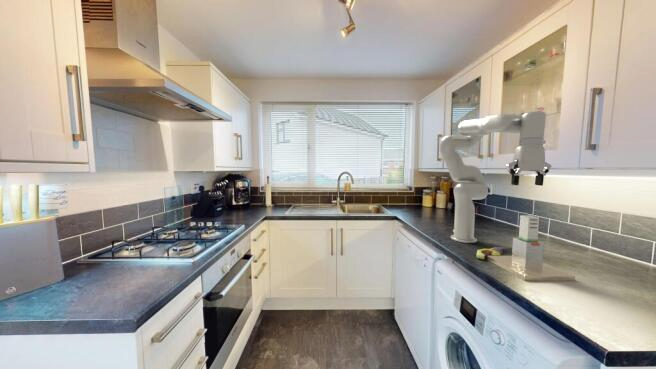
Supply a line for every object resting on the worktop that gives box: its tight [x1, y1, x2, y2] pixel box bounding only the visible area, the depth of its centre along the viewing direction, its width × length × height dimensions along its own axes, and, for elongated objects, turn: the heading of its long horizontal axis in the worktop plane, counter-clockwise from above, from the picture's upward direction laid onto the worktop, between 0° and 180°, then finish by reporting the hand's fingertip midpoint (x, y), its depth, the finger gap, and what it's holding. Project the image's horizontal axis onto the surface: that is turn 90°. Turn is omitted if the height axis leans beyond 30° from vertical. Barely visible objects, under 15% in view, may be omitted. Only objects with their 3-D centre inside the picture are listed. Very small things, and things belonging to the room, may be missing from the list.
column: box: [518, 214, 540, 242], centre depth 93 cm, size 4×4×15 cm
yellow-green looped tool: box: [475, 246, 512, 260], centre depth 110 cm, size 8×3×25 cm
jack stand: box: [486, 237, 576, 282], centre depth 94 cm, size 20×18×12 cm
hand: (526, 185), depth 99 cm, fingers open, 9 cm apart
